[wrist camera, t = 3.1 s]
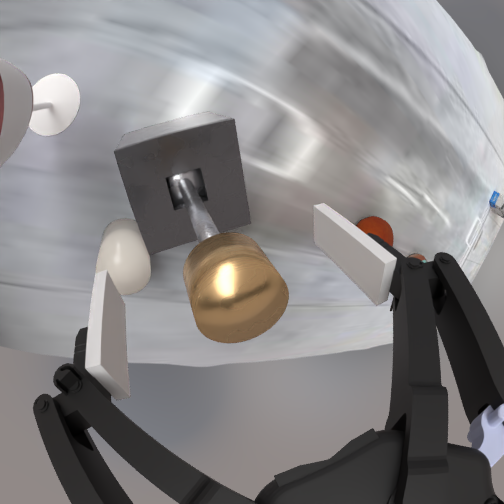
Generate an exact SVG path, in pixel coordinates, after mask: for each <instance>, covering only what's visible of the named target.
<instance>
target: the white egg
mask: <svg viewBox="0 0 504 504" xmlns="http://www.w3.org/2000/svg"><path fill="white" fill-rule="evenodd" d="M104 270H107V271H108V273H109V275H110V277H111V279H112V281H113V283H114V285H115V286H116V288H117V290H118V292H119V294H120V295H130V294H134V293H137V292H138V291H140V290H142V289H143V288H144V287H145V286H146V285H147V283H148V282H149V280H150V276H151V265H150V255H149V254H148V251H147V248H146V246H145V243H144V241H143V238H142V235H141V233H140V230H139V227H138V224H137V222H136V221H135V220H132V219H118V220H115V221H113V222H112V223H110V224H109V225H108V226H107V227H106V229H105V230H104V232H103V236H102V240H101V245H100V249H99V254H98V259H97V264H96V273H99V272H102V271H104Z"/></svg>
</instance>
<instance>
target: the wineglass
mask: <svg viewBox="0 0 504 504" xmlns="http://www.w3.org/2000/svg"><path fill="white" fill-rule="evenodd" d="M79 106H80V93H79V89H78V86H77V85H76V83H75V82H74V80H73V79H72V78H70V77H68V76H67V75H64V74H58V73H56V74H51V75H47V76H46V77H44V78H42V79H40V80H39V81H38V82H37V83H36V84H35V85H34V86H33V87H32V86H31V83H30V81H29V79H28V78H27V76H26V75H25V74H24V73H23V72H22V71H21V70H19V69H18V68H17V67H15V66H14V65H13V64H11V63H10V62H8V61H6V60H4V59H1V58H0V167H1V166H2V165H3V164H4V163H5V162H6V161H7V160H8V159H9V158H10V156H11V155H12V154H13V153H14V152H15V150H16V149H17V147H18V146H19V144H20V142H21V141H22V139H23V137H24V135H25V133H26V130H27V128H28V126H29V127H30V128H31V130H32V131H34V132H35V133H37V134H39V135H43V136H51V135H56V134H58V133H60V132H62V131H64V130H65V129H66V128H67V127H68V126H69V125H70V124H71V123H72V122H73V120H74V118H75V117H76V115H77V112H78V109H79Z"/></svg>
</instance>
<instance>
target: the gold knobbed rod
mask: <svg viewBox="0 0 504 504" xmlns="http://www.w3.org/2000/svg"><path fill="white" fill-rule="evenodd" d="M166 182H167V186H168V190H169V193H170V197H171V200H172V204H173V207H174V206H178V205H181V204H184V203H185V206H186V209H187V212H188V214H189V217H190V220H191V222H192V225H193V227H194V230H195V233H196V235H197V238H198V240H199V244H198V245H197V246H196V247H195V248H194V249H193V250H192V251H191V253H190V254H189V255H188V257H187V259H186V262H185V264H184V269H183V277H184V282H185V285H186V289H187V293H188V297H189V300H190V304H191V307H192V311H193V315H194V318H195V321H196V325H197V327H198V329H199V330H200V332H201V333H202V334H203V335H204V336H206V337H207V338H209V339H211V340H213V341H217V342H221V343H238V342H243V341H247V340H250V339H252V338H255V337H257V336H259V335H261V334H262V333H264V332H266V331H267V330H268V329H270V328H271V327H272V326H273V325H274V324H275V323H276V322H277V321H278V320H279V319H280V317H281V316H282V315H283V313H284V311H285V309H286V307H287V304H288V299H289V292H288V288H287V285H286V283H285V281H284V280H283V279H282V277H281V276H280V274H279V273H278V272H277V270H276V269H275V268H274V266H273V265H272V263H271V262H270V261H269V259H268V258H267V257H266V255H265V254H264V252H263V251H262V250H261V248H260V247H259V246H258V244H257V243H256V242H255V241H254V240H253V239H251V238H250V237H248V236H246V235H243V234H239V233H221V234H220V233H219V231H218V230H217V228H216V226H215V224H214V222H213V220H212V218H211V217H210V215H209V213H208V211H207V209H206V207H205V205H204V204H203V202H202V200H201V198H204V197H206V193H205V189H204V184H203V180H202V175H201V170H200V168H198V169H194V170H190V171H187V172H183V173H180V174H176V175H173V176H170V177H166Z"/></svg>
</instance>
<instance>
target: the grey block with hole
mask: <svg viewBox="0 0 504 504" xmlns="http://www.w3.org/2000/svg"><path fill="white" fill-rule="evenodd" d="M114 154H115V157H116V160H117V164H118V167H119V170H120V174H121V177H122V180H123V183H124V186H125V190H126V193H127V196H128V199H129V202H130V205H131V207H132V210H133V213H134V216H135V219H136V222H137V224H138V227H139V230H140V233H141V235H142V238H143V241H144V243H145V246H146V248H147V251H148V254H149V255H151V254H154V253H157V252H160V251H163V250H167V249H170V248H173V247H176V246H179V245H182V244H185V243H188V242H192V241H195V240H198V238H197V235H196V233H195V230H194V227H193V225H192V222H191V220H190V217H189V214H188V212H187V209H186V206H185V203H184V204H181V205H178V206H174V207H173V204H172V200H171V197H170V193H169V190H168V186H167V182H166V177H170V176H173V175H176V174H180V173H183V172H187V171H190V170H194V169H198V168H200V170H201V175H202V180H203V184H204V189H205V193H206V197H204V198H201V200H202V202H203V204H204V205H205V207H206V209H207V211H208V213H209V215H210V217H211V218H212V220H213V222H214V224H215V226H216V228H217V230H218V231H219V233H221V232H224V231H227V230H231V229H234V228H237V227H240V226H244V225H247V224H251V221H250V214H249V208H248V202H247V195H246V189H245V182H244V176H243V170H242V163H241V157H240V151H239V145H238V138H237V132H236V126H235V120H234V119H233V118H229V117H226V116H223V115H219V114H216V113H212V112H208V111H207V112H203V113H198V114H194V115H190V116H185V117H181V118H178V119H174V120H170V121H166V122H163V123H159V124H156V125H152V126H149V127H145V128H142V129H139V130H136V131H133V132H130V133H127V134H124V136H123V137H122V139H121V141H120V142H119V144H118V146H117V147H116V149H115V151H114Z"/></svg>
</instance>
